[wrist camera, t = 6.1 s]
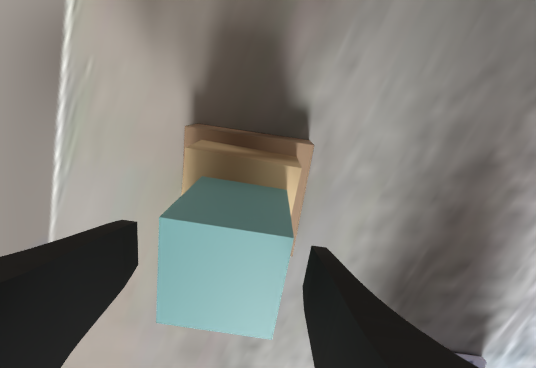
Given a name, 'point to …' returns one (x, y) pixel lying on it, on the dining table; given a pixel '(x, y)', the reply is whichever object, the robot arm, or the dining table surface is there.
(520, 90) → the dining table surface
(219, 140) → the brown square slab
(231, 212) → the teal block
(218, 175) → the oak slab
